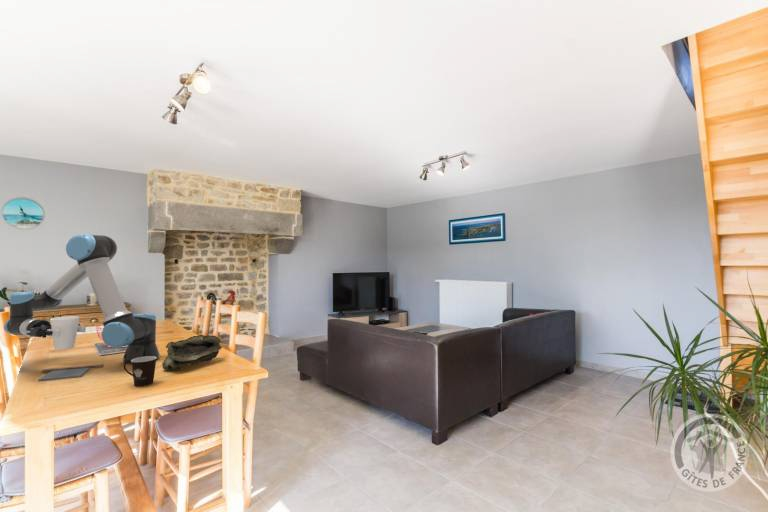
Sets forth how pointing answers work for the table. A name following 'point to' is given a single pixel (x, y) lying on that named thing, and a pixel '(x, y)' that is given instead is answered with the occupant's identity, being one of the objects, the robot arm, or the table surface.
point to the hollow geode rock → (191, 351)
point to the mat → (65, 374)
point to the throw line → (72, 368)
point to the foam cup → (65, 331)
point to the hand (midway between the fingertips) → (72, 331)
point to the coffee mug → (142, 370)
